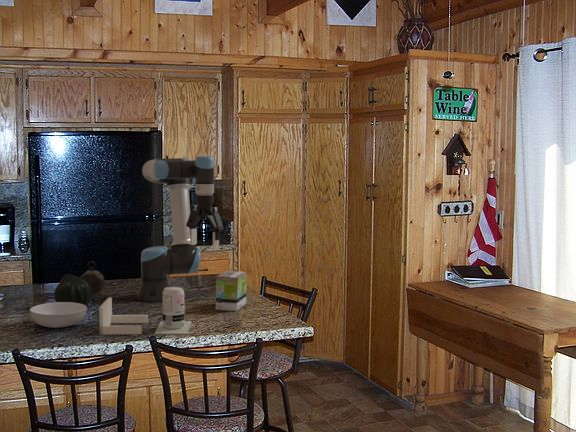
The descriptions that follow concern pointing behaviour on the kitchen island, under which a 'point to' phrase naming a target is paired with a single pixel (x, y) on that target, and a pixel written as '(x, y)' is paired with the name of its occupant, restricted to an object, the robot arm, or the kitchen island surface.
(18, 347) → the kitchen island surface
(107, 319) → the open box
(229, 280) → the tea box
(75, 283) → the squash
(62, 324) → the serving bowl
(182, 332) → the sage mat
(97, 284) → the alarm clock
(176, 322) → the supplement can
